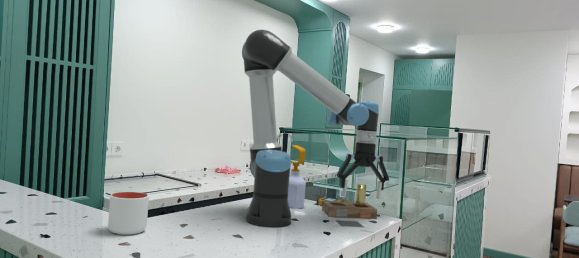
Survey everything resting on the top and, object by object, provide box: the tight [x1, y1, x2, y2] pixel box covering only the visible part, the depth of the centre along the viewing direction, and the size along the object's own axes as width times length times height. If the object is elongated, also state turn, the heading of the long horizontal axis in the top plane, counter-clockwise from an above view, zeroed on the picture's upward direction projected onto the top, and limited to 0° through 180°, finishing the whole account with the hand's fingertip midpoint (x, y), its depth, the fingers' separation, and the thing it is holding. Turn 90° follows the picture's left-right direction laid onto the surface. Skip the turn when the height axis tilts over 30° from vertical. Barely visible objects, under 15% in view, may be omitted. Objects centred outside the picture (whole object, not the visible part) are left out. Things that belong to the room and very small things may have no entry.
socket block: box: [321, 201, 378, 220], centre depth 157 cm, size 12×18×4 cm
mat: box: [335, 219, 365, 228], centre depth 142 cm, size 8×8×1 cm
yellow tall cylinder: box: [355, 183, 367, 207], centre depth 157 cm, size 4×4×12 cm
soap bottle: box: [288, 144, 307, 210], centre depth 165 cm, size 9×9×25 cm
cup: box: [107, 191, 150, 236], centre depth 114 cm, size 10×10×10 cm
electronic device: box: [316, 196, 350, 207], centre depth 171 cm, size 8×16×3 cm, turn 60°
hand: (361, 197), depth 158 cm, fingers open, 13 cm apart
